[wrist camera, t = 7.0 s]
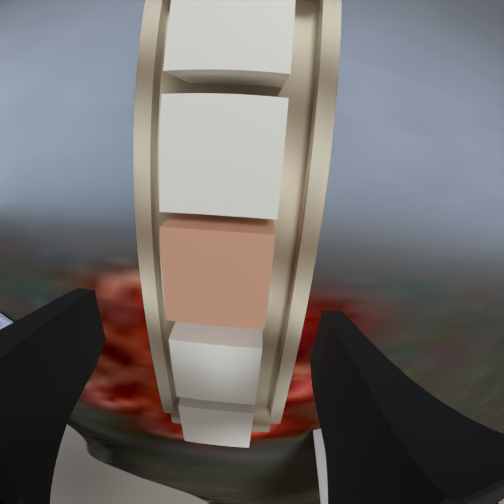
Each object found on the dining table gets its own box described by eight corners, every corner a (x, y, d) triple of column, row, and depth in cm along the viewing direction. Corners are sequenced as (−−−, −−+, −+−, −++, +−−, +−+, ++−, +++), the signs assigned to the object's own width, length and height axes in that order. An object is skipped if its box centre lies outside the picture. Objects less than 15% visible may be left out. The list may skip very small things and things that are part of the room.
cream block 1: (282, 87, 12) (290, 74, 8) (190, 83, 12) (163, 71, 8) (287, 8, 10) (297, -29, 7) (197, 6, 10) (175, -30, 7)
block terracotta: (264, 280, 16) (264, 329, 12) (186, 273, 16) (166, 319, 12) (271, 203, 14) (275, 235, 10) (185, 198, 14) (159, 226, 10)
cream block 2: (273, 192, 14) (277, 219, 10) (185, 186, 14) (159, 211, 10) (280, 104, 12) (288, 97, 8) (189, 100, 12) (161, 94, 8)
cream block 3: (256, 352, 18) (254, 404, 14) (190, 346, 18) (176, 396, 14) (262, 297, 16) (262, 348, 12) (187, 291, 16) (168, 339, 12)
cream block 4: (250, 400, 20) (249, 447, 16) (194, 395, 20) (184, 440, 16) (255, 362, 18) (253, 413, 14) (190, 356, 18) (178, 405, 14)
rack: (279, 404, 21) (280, 432, 19) (168, 394, 21) (161, 420, 19) (333, -2, 10) (346, -22, 8) (160, -8, 10) (143, -27, 8)
